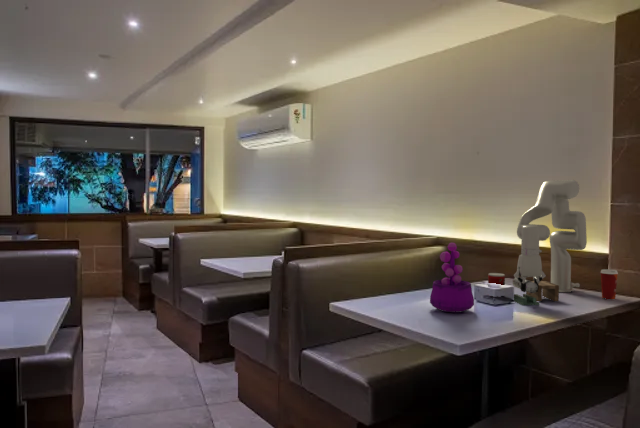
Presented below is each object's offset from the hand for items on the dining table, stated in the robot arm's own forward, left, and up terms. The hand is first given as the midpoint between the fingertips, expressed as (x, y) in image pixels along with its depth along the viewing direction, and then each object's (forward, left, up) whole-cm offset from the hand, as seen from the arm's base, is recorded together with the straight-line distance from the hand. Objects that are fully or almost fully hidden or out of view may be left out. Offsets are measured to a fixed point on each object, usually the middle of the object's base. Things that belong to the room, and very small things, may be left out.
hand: (529, 291), depth 231 cm
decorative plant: (+40, +10, -6) cm, 42 cm away
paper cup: (-45, -11, -6) cm, 47 cm away
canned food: (+7, -21, -7) cm, 23 cm away
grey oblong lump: (0, -5, 0) cm, 5 cm away
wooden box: (-12, -12, -6) cm, 18 cm away
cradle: (0, -5, -6) cm, 8 cm away
